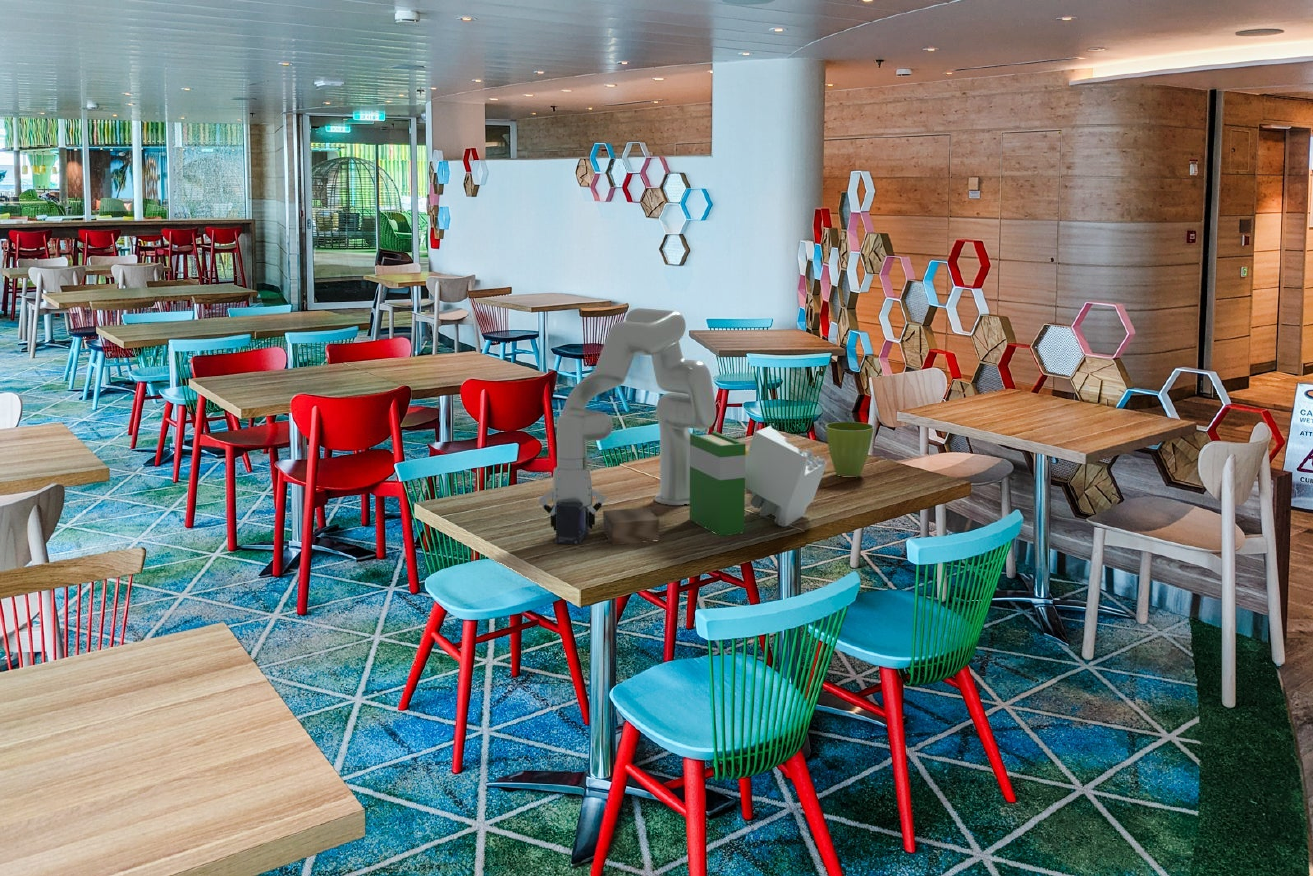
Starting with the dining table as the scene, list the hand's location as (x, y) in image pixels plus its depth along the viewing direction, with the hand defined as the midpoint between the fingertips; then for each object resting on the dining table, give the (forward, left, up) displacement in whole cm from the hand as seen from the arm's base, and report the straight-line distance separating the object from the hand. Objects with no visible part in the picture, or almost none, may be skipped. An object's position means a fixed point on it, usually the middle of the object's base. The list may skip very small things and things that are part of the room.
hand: (572, 528), depth 298 cm
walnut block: (-15, 0, -3) cm, 15 cm away
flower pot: (-92, -56, -3) cm, 108 cm away
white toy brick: (-58, -9, -3) cm, 59 cm away
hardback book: (-39, -6, -3) cm, 40 cm away
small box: (0, 0, -3) cm, 3 cm away
